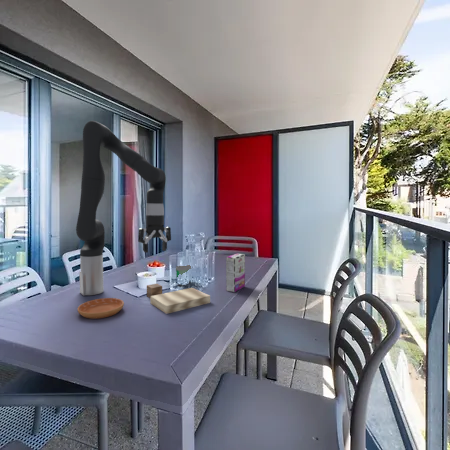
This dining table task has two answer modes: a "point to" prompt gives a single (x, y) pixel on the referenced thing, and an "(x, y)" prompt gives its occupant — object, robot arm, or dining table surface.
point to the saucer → (100, 308)
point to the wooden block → (179, 300)
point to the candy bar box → (235, 272)
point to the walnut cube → (154, 290)
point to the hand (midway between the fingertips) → (155, 251)
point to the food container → (182, 269)
